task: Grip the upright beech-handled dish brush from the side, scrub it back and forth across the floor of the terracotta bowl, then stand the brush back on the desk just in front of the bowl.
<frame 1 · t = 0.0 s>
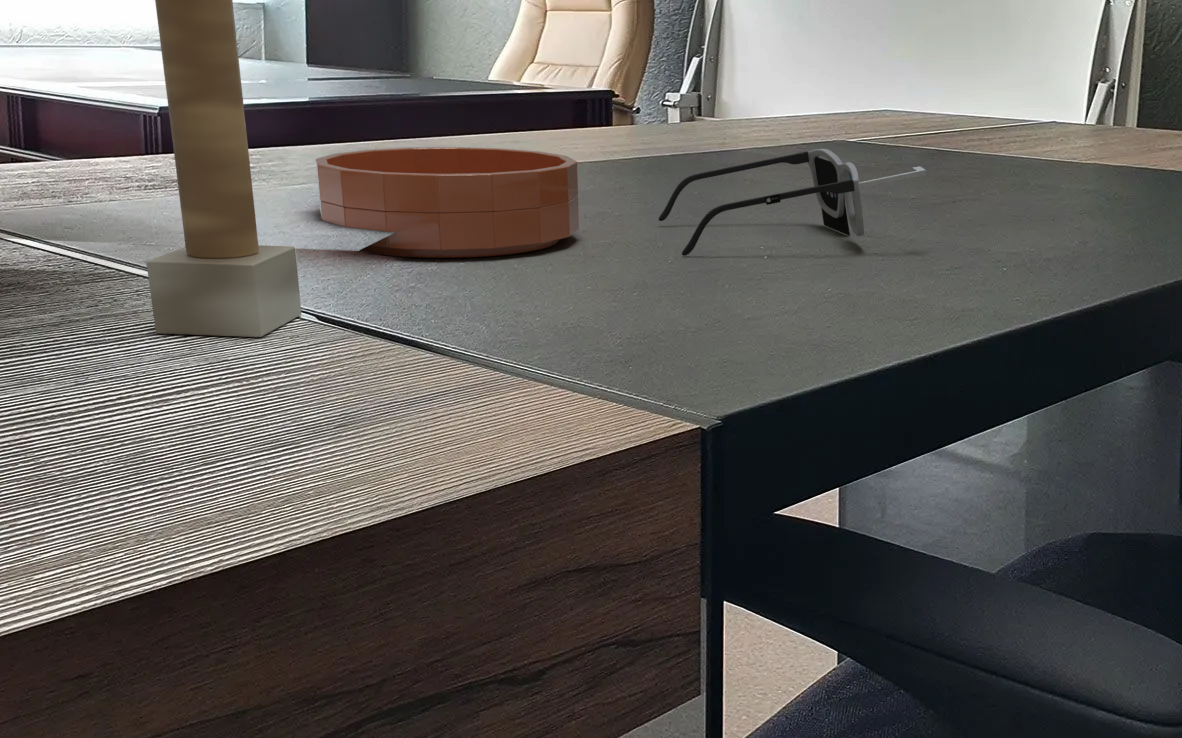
brush: (231, 324, 59), on the table
smart glasses: (784, 242, 83), on the table
bowl: (452, 239, 80), on the table
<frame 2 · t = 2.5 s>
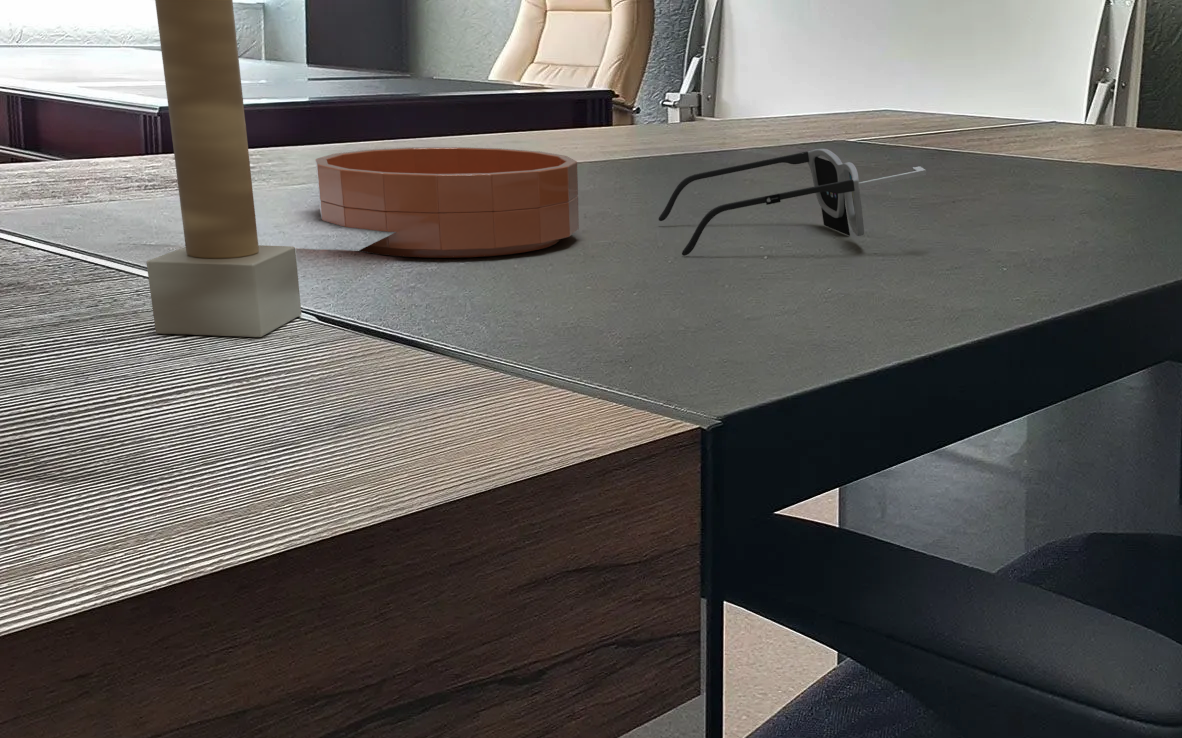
nothing on the table moved.
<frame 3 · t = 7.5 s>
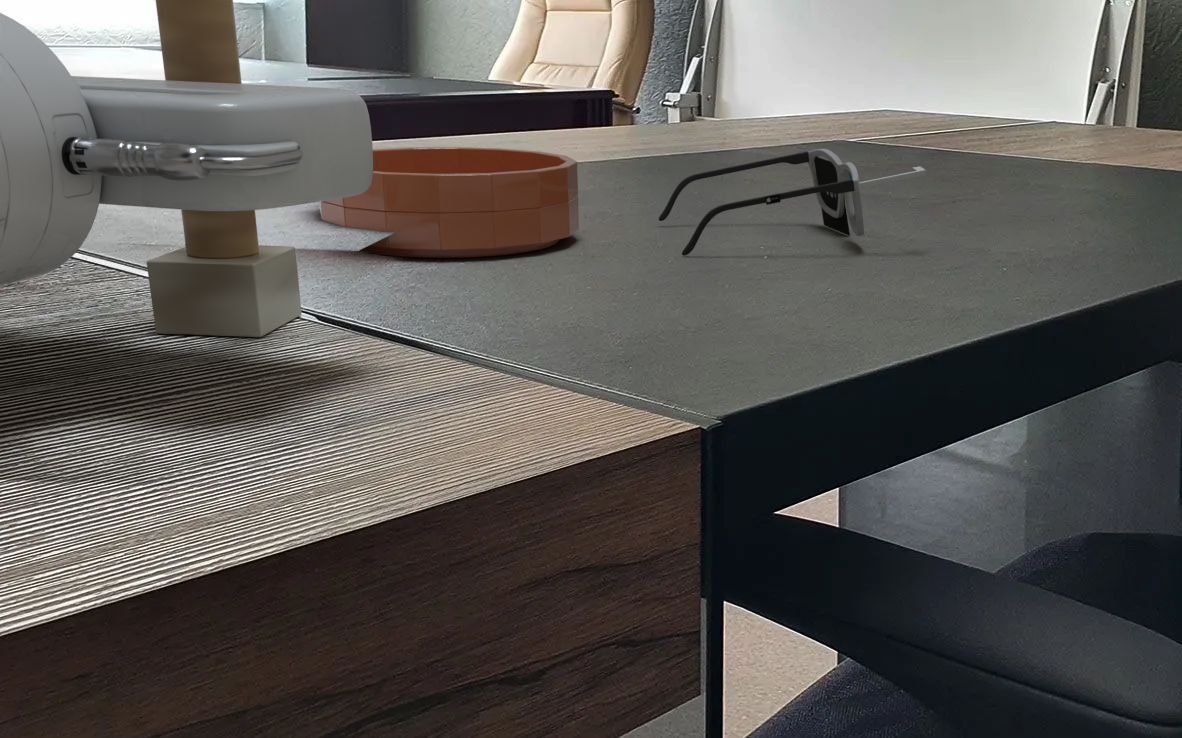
hand: (221, 119, 57), 8 cm above the table, tool horizontal, fingers closed on brush, 3 cm apart
brush: (231, 324, 59), on the table, touching gripper
everything else where it was.
when the fingers open (8 cm above the table, at t = 21.3 s): brush stays where it is, on the table.
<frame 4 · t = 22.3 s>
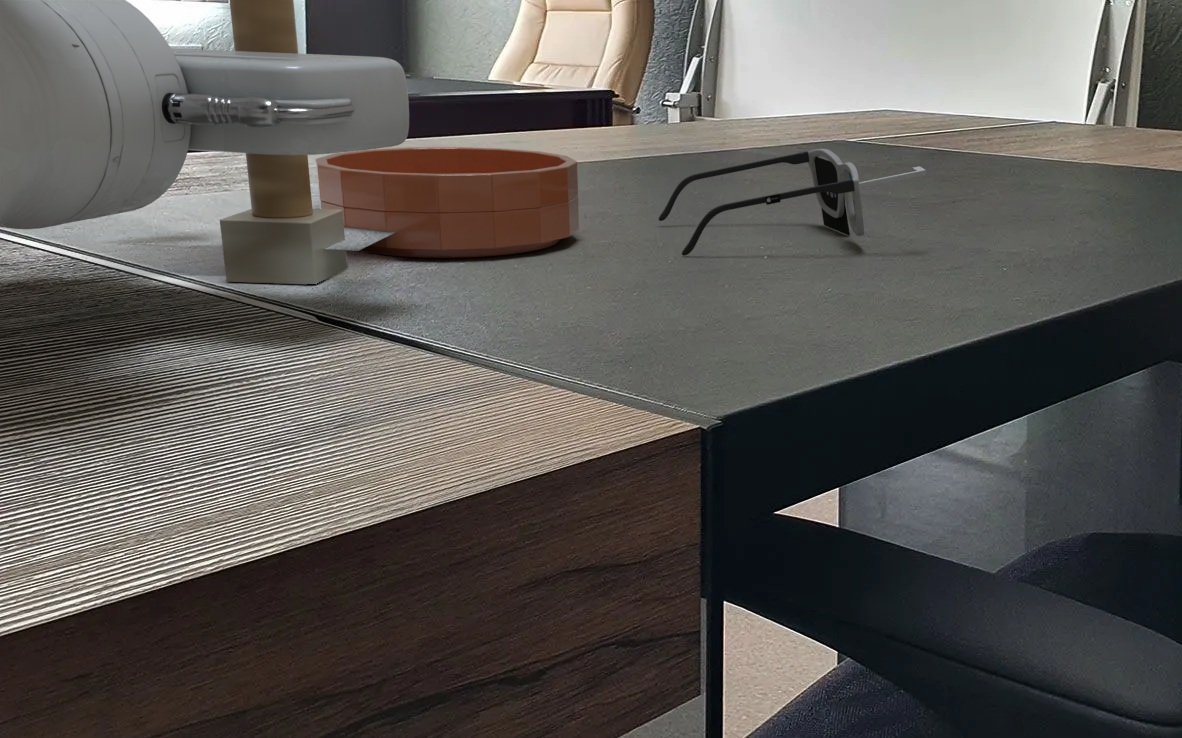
hand: (277, 86, 67), 9 cm above the table, tool horizontal, fingers open, 8 cm apart
brush: (288, 275, 69), on the table
everything else where it was.
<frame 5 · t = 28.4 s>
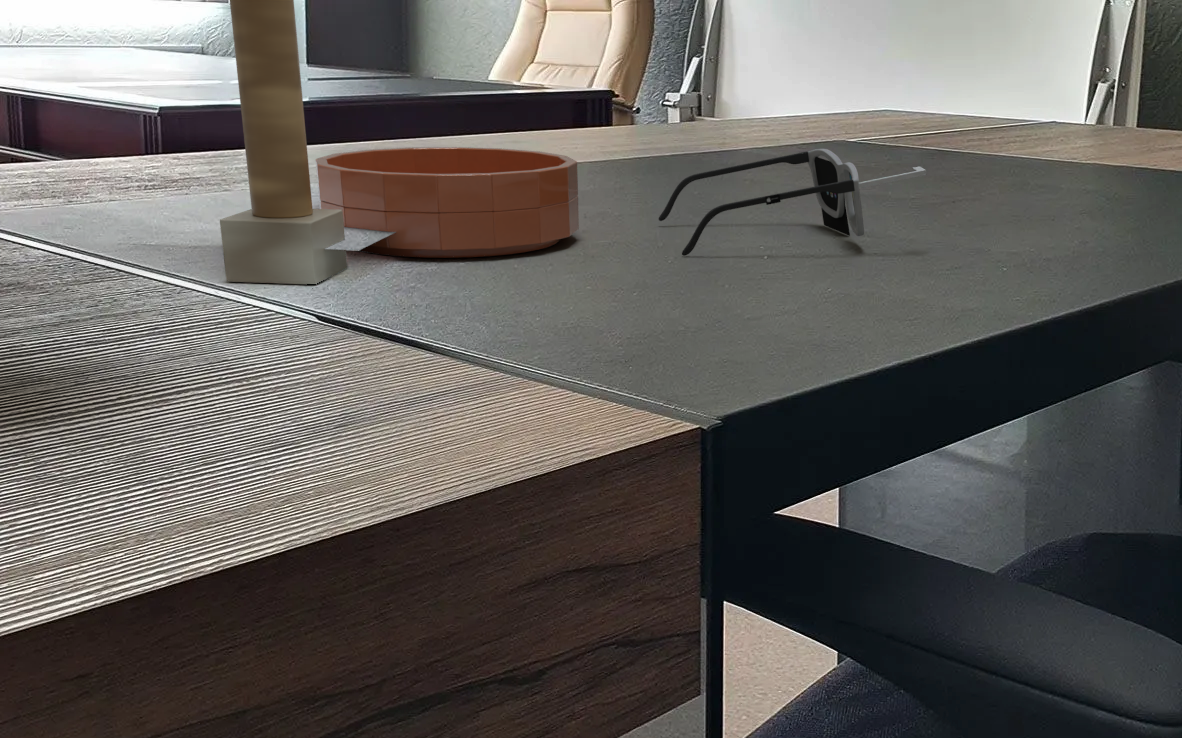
nothing on the table moved.
at the end: brush 0.2 cm from the target spot on the table beside the bowl, on the table; brush tilted 0°; the gripper is holding nothing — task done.
